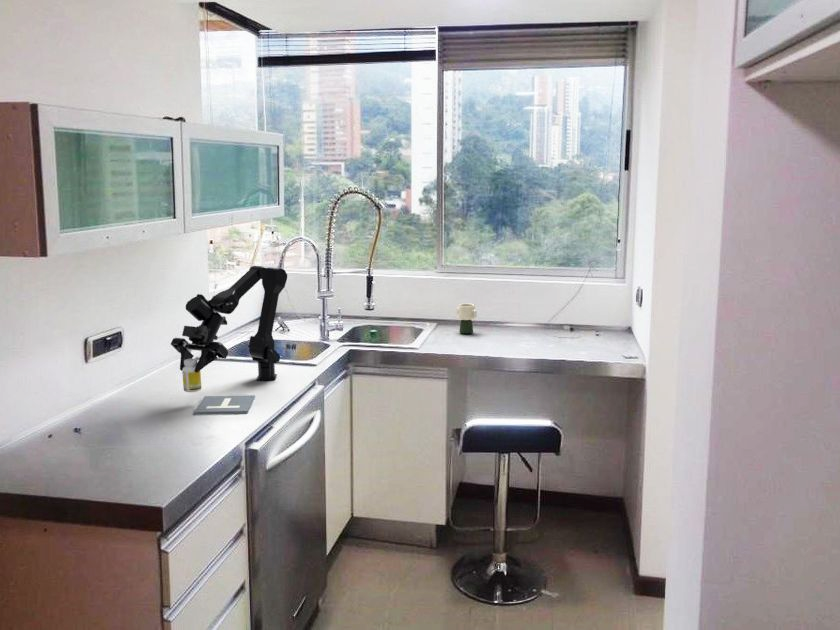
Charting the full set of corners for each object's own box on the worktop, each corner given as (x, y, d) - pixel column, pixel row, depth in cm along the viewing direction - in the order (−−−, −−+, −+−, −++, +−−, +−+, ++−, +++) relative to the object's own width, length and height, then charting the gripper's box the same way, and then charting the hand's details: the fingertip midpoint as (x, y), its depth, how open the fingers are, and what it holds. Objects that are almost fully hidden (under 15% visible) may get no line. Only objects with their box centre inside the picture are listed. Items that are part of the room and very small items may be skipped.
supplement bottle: (205, 388, 243) (203, 358, 241) (195, 393, 238) (193, 362, 236) (190, 387, 245) (188, 357, 243) (180, 392, 240) (177, 361, 238)
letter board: (204, 398, 248) (204, 396, 248) (254, 397, 249) (254, 394, 249) (194, 414, 232) (193, 411, 232) (247, 413, 233) (247, 410, 233)
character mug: (480, 333, 343) (481, 305, 340) (471, 336, 338) (471, 307, 335) (461, 330, 350) (461, 302, 347) (451, 332, 345) (452, 304, 342)
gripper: (172, 312, 244) (150, 354, 236) (220, 317, 236) (199, 360, 229) (190, 331, 252) (169, 372, 245) (237, 336, 245) (217, 379, 238)
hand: (188, 371), depth 239 cm, fingers closed on supplement bottle, 5 cm apart
